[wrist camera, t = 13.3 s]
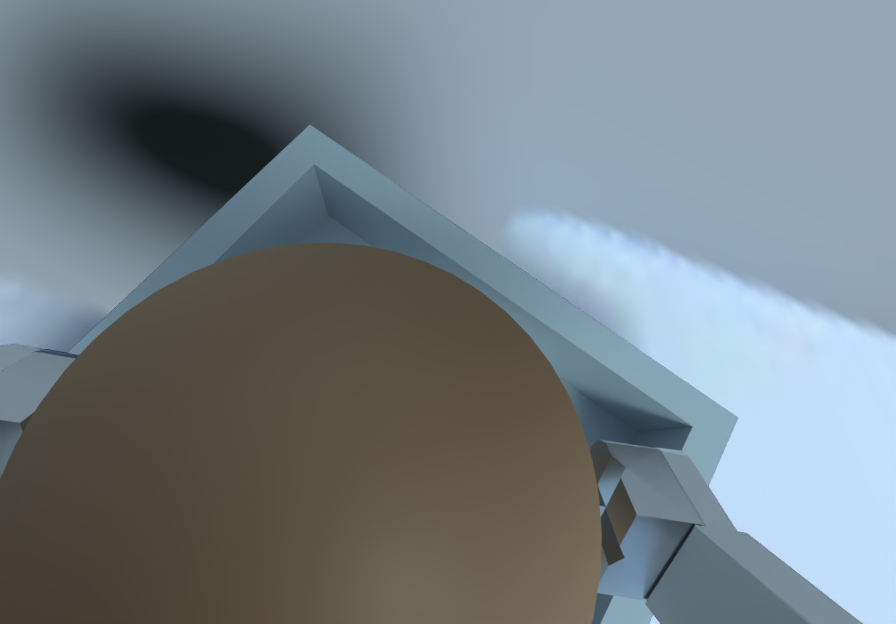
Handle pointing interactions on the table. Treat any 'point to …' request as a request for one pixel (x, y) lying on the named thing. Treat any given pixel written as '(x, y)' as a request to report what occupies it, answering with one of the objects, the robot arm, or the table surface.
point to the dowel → (304, 458)
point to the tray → (456, 251)
